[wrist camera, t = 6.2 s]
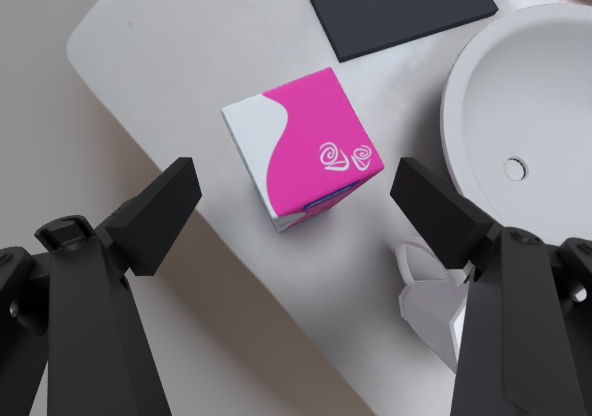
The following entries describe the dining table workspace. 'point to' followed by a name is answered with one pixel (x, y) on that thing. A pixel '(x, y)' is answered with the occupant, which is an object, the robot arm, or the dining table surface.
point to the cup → (434, 305)
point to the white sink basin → (525, 121)
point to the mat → (391, 21)
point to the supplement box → (302, 146)
